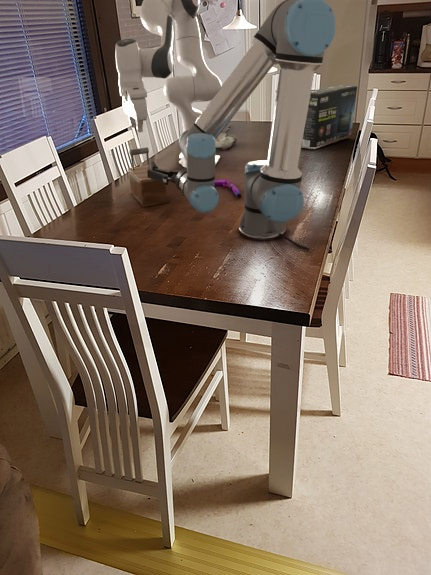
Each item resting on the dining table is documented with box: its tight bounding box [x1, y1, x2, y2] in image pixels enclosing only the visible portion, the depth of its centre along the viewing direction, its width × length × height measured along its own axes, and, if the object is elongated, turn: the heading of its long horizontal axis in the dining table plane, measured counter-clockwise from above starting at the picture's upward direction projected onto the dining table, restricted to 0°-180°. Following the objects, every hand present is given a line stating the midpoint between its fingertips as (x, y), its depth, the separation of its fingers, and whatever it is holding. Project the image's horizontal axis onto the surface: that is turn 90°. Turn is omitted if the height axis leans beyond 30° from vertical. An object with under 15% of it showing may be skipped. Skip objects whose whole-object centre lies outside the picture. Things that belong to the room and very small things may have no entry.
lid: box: [127, 147, 155, 183], centre depth 175 cm, size 18×10×9 cm, turn 24°
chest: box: [128, 171, 168, 208], centre depth 179 cm, size 17×10×9 cm, turn 24°
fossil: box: [215, 131, 238, 151], centre depth 246 cm, size 18×11×15 cm
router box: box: [302, 84, 358, 151], centre depth 238 cm, size 36×11×27 cm, turn 134°
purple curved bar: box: [215, 178, 243, 199], centre depth 184 cm, size 21×8×2 cm, turn 11°
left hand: (136, 129), depth 174 cm, fingers open, 8 cm apart
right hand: (173, 164), depth 151 cm, fingers open, 13 cm apart
